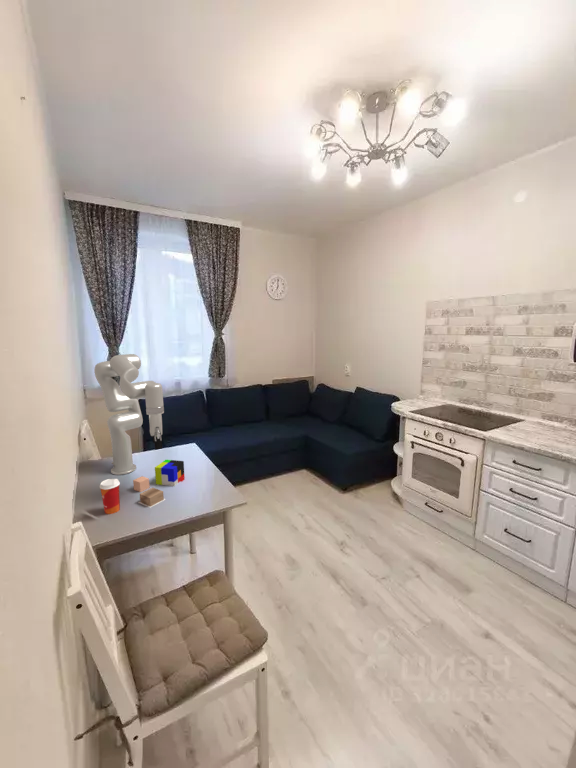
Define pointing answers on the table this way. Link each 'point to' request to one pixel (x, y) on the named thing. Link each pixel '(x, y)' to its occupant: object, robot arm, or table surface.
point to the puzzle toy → (169, 472)
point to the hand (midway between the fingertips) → (157, 445)
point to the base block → (151, 496)
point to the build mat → (151, 506)
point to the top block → (141, 484)
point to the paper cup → (110, 495)
